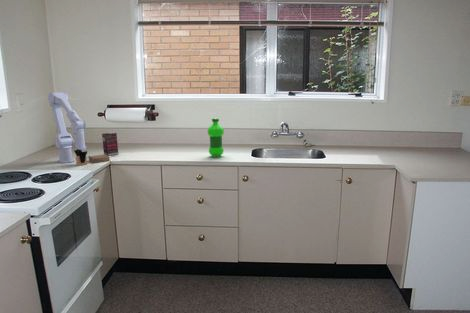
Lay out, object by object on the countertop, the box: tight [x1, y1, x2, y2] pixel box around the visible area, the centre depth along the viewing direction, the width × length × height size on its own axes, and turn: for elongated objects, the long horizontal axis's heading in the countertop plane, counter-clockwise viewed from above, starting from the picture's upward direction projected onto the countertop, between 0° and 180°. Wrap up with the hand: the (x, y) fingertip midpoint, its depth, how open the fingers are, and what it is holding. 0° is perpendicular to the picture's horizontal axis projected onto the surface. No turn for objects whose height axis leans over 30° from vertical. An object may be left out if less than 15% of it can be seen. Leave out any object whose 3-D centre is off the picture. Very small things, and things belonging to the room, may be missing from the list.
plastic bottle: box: [207, 117, 225, 158], centre depth 255 cm, size 10×10×25 cm
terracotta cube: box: [75, 155, 88, 167], centre depth 238 cm, size 5×5×5 cm
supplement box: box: [101, 131, 119, 157], centre depth 264 cm, size 9×5×16 cm, turn 134°
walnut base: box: [88, 153, 110, 164], centre depth 249 cm, size 10×10×3 cm
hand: (81, 161), depth 238 cm, fingers closed on terracotta cube, 5 cm apart
